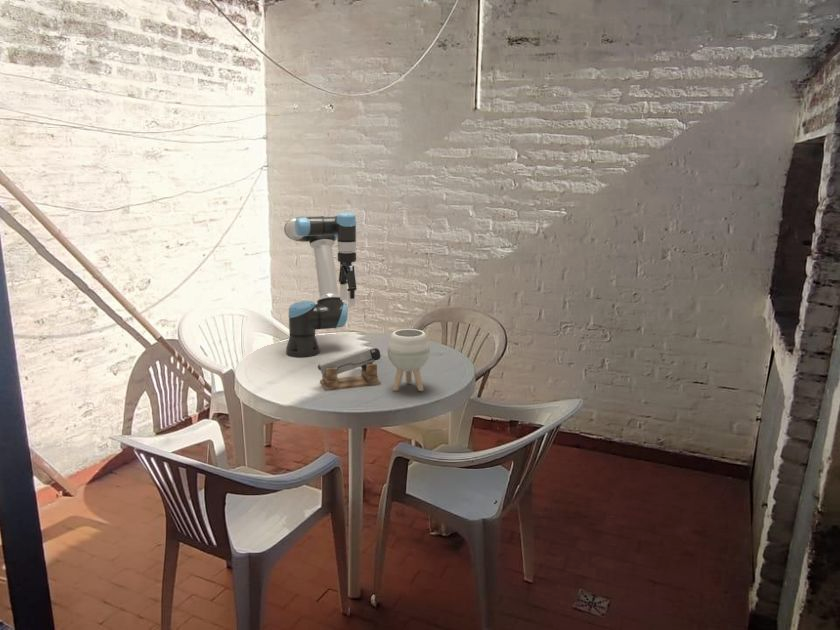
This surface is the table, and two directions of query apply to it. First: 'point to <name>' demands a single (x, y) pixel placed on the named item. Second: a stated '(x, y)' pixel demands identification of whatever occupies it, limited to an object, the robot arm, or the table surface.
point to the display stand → (350, 378)
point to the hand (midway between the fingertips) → (347, 302)
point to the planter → (408, 355)
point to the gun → (351, 361)
